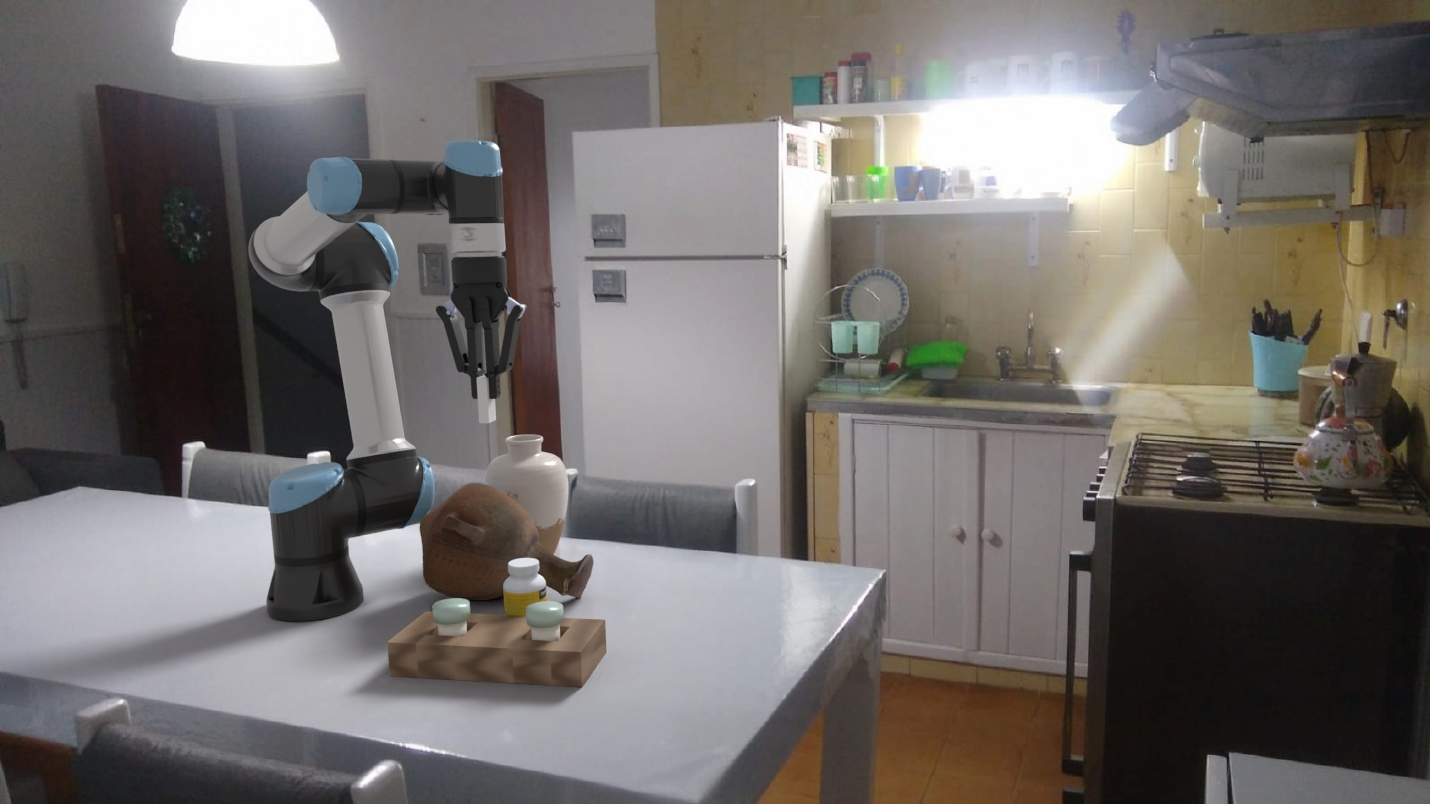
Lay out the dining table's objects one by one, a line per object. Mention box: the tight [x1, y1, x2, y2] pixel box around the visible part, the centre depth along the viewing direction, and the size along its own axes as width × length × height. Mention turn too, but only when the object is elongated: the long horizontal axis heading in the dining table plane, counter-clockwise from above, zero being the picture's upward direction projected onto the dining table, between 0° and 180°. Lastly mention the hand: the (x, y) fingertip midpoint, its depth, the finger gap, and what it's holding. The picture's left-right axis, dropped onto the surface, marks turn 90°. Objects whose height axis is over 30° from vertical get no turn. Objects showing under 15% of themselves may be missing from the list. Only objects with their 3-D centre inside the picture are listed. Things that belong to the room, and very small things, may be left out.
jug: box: [419, 482, 594, 601], centre depth 175 cm, size 20×20×30 cm
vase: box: [483, 433, 569, 555], centre depth 199 cm, size 16×16×23 cm
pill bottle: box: [503, 558, 548, 616], centre depth 159 cm, size 6×6×12 cm
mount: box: [386, 611, 607, 688], centre depth 149 cm, size 28×12×5 cm, turn 80°
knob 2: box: [526, 600, 565, 641], centre depth 147 cm, size 5×5×8 cm
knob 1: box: [431, 597, 471, 636], centre depth 150 cm, size 5×5×8 cm
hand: (487, 421), depth 149 cm, fingers closed
